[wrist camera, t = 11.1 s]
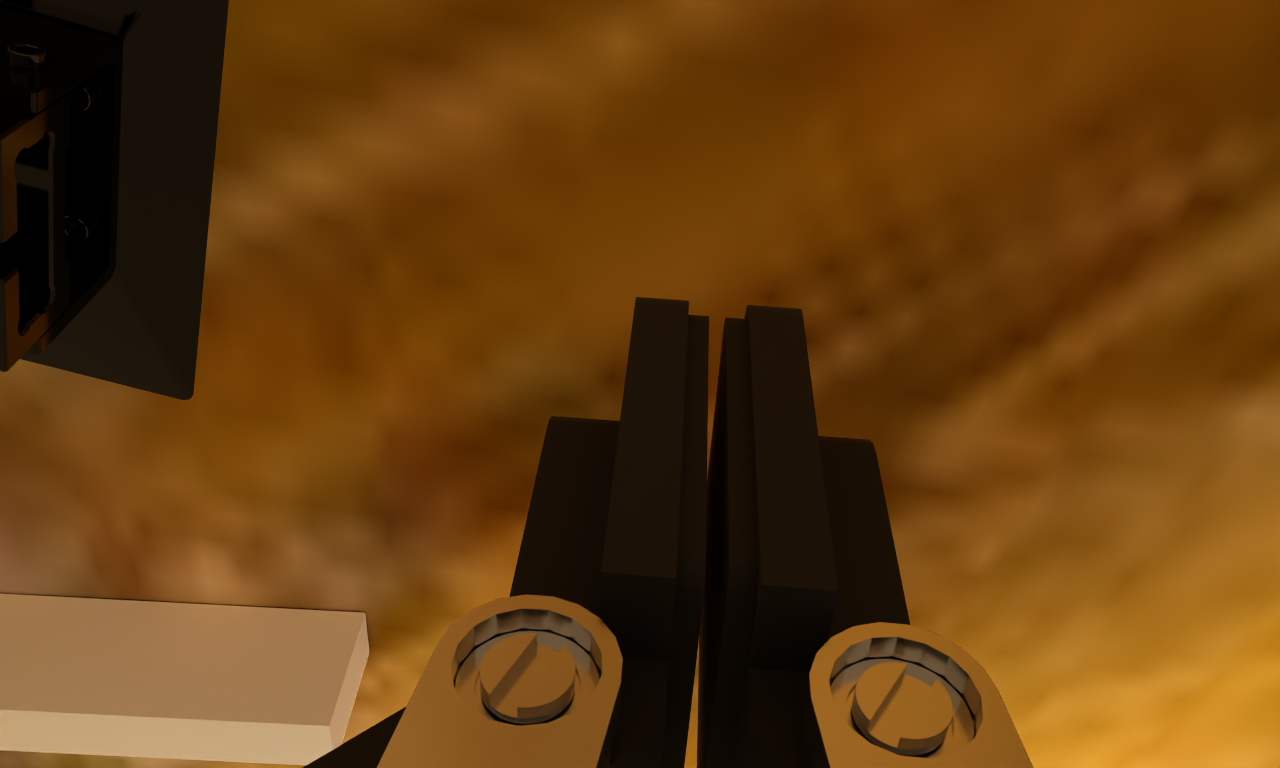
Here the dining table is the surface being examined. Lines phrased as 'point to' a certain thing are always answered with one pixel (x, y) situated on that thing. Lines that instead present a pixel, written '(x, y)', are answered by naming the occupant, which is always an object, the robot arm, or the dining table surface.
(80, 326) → the black boxy piece
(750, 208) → the dining table surface
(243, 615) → the u-shaped wooden bracket
